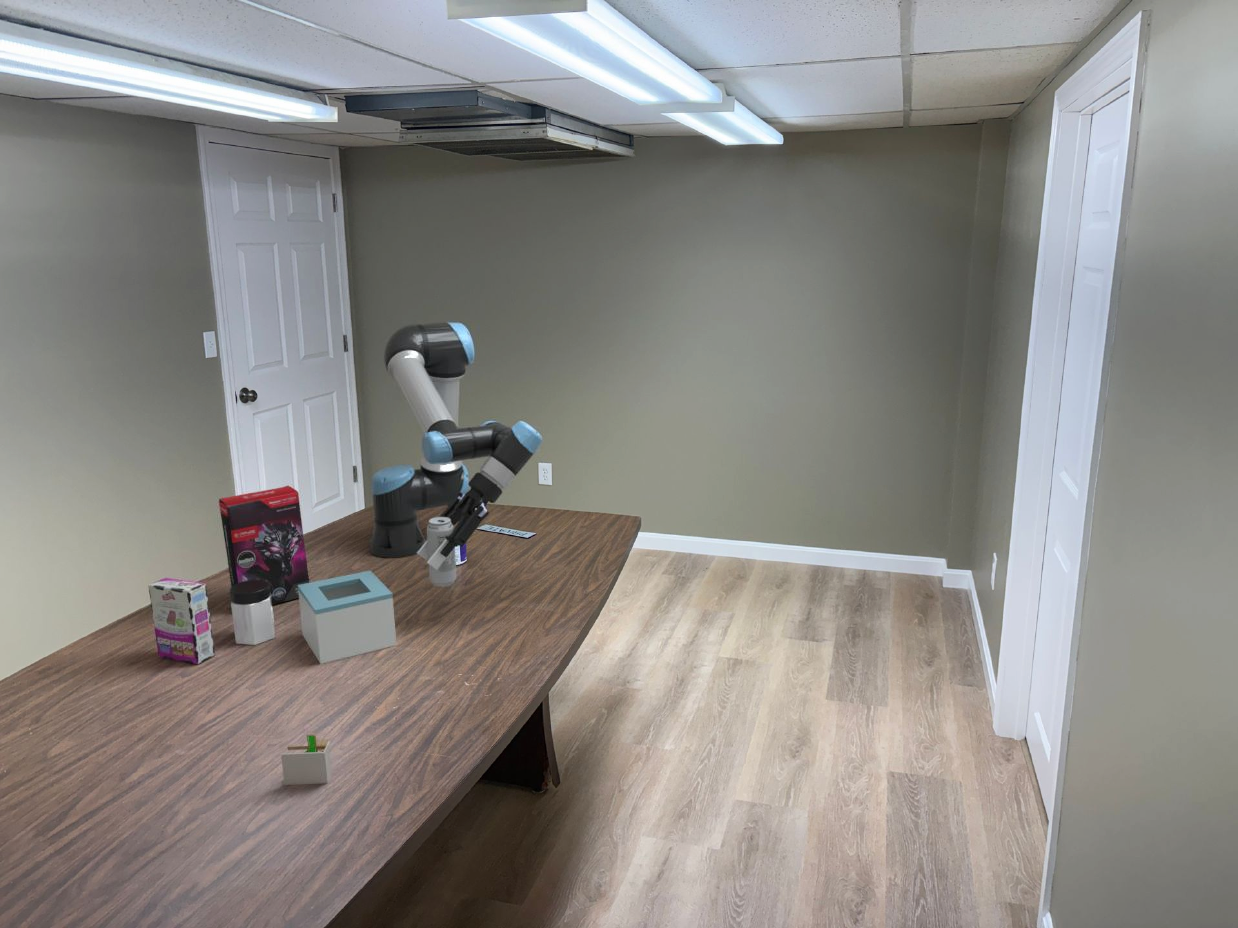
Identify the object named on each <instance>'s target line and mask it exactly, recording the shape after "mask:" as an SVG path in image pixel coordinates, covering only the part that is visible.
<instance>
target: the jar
mask: <svg viewBox="0 0 1238 928" xmlns="http://www.w3.org/2000/svg"><path fill="white" fill-rule="evenodd" d="M229 594H230V601H231V603H230V607H231V615H232V621H233V631H234V638H235V639H234V640H235V644H237V645H250V646H256V645H259V644H262V643H265V642H267V641H271V640H272V639H274V638H275V632H276V631H275V630H276V629H275V620H274V619H275V618H274V609H273V605H272V601H271V589H270V584H269V582H267V581H264V580H249V581H244V582H240V583H237V584H235V585H233V586H232V587H231V586H230V588H229Z"/></svg>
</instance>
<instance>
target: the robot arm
mask: <svg viewBox="0 0 1238 928" xmlns="http://www.w3.org/2000/svg"><path fill="white" fill-rule="evenodd" d="M472 338H473V337H472V336H471V333H470V331H469V329H468V328H467V326H465V325H464V324H463V323H461V322H450V321H446V322H439V323H438V322H435V323H434V322H432V323H420V324H414V323H413V324H408V325H404V326H402V327H399V328H398V329H396V330H395V331H394V332H393V333H392V334H391V335H390V336H389V338H388V339H387V341H386V343H385V346H384V350H383V362H384V367H385V369H386V371H387V373H388V375H389V376H390V377H391V379H393V380H394V381H397V383H398V386H399V387H400V389H401V391H402V393H403V395H404V397H405V399H406V400H407V403H408V404H409V407H410V409H411V410H412V412H413V414H414V417H416V420H417V421H418V423H419V425H420V427H421V429H422V431H423V433H424V434H423V436H422V438H421V450H422V452H423V458H421V460H420V468H418V469H417V468H416V469H414V467H413V466H412V465H409V464H402V465H398V464H397V465H392V466H389V467H385V468H383V469H380V470H378V471H377V472H375V473H374V474H373V476H372V477H371V478H372V479H371V494H372V504H373V518H374V527H373V532H372V535H371V539H370V542H369V544H370V545H369V547H370V548H369V549H370V553H371V554H372V555H373V556H375V557H379V558H392V559H393V558H403V557H409V556H412V555H415V554H417V555H418V556H420V557H421V558H423V559H424V560H425V561H426V563H427V564H428V565H429V564H430V565H431V566H432V567H434V568H435V569H436V570H437V569H438V568H439V566H440V565H441V564H442V563H443V561H444V560H445V559H446V558H447V556H448V555H449V554H450V552H451V551H452V550H453V549H454V548H455V549H456V547H460V548H461V547H462V548H463V547H464V545H465V544H466V543H467V542H468V540H469V539H470V538H471V537H472V535H473V534H474V532H475V531H476V530H477V528H478V527H479V525H480V524H481V523H482V521H484V519H485V518H487V517H488V516H489V514H490V511H488V509H486V507H487V505H488V503H491V504H495V503H496V502H497V500H498V499H499V498H500V496H501V495H502V494H503V490H506V489H507V487H509V485H510V484H512V483H513V480H514V478H515V477H516V476H517V475H518V474H519V473H520V472H521V470H522V469H523V467H525V466H526V464H527V463H528V462H529V460H531V458H532V457H533V455H535V453H537V450H538V449H539V447H540V445H541V444H542V443H543V436H542V435H541V434H540V433H539V431H537V429H535V428H534V427H532V426H531V425H530V424H528V423H527V422H525V421H523V420H520V421H517V422H516V423H515V424H514V425H513V426H512V427H510V426H508V425H506V424H504V423H502V422H500V421H496V420H489V421H485V422H484V423H482V424H481V425H479V426H471V427H469V426H468V427H460V428H459V408H460V407H459V404H460V402H459V401H460V379H462V378H463V377H464V376H465V375H466V370H467V369H466V366H470V365H472V364H473V363H474V361H475V346H474V342H473V341H474V340H473V339H472ZM481 458H487V459H486V460H485V461H484V463H483V464H481V466H480V468H479V471H477V472H476V473H475V474H474V475H473V476H472V478H471V479H470V478H469V471H468V469H467V467H466V465H464V463H463V461H467V460H474V459H481ZM469 488H470V489H469ZM440 507H446V509H444V511H443V512H442V513H441V514H440V516H439V517H448V518H450V519H451V523H452V524H453V526H454V530H453V532H452V534H451V535H450V537H446V539H447V540H448V541H447V540H446V539H445V540H444V542H443V543H442V544H441V545H440V547H439V548H438V549H437V550H436V552H435V553H434V554H433V555H432V557H431V558H430V559H429V560H428V543H427V540H426V539H425V537H424V535H423V532H422V529H421V527H420V525H419V522H418V515H417V514H418V513H417V512H418V511H422V510H429V509H435V508H440Z"/></svg>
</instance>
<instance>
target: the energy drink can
mask: <svg viewBox="0 0 1238 928" xmlns="http://www.w3.org/2000/svg"><path fill="white" fill-rule="evenodd" d="M454 529H455V525H454V526H453V524H452V523H451V519H450V518H448V517H440V516H437V517H433V518H430V519H428V524H427V526H426V541H427V543H428V559H427V561H428V560H429V559H430V558H431V557H432V555H433V554H434V553H435V552H436V550H437V549H438V548H439V547H440V545H441V544H442V543H443V542H444V540H445V539H446V537H450V535H451V534H452V532H453V530H454ZM446 540H447V539H446ZM447 541H448V540H447ZM428 573H429V574H428V575H429V581H430V582H431V584H432V585H433V586H435V587H440V588H441V587H448V586H452V585H453V584H454V583H455V580H457V561H456V547H455V548H454V549H453V550H452V551H451V552H450V554H449V555H448V556H447V558H446V559H445V560H444V561H443V563H442V564H441V565H440V566H439V568H438V569H437V570H436V569H435V568H434V567H432V566H431V565H430V564H428Z"/></svg>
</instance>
